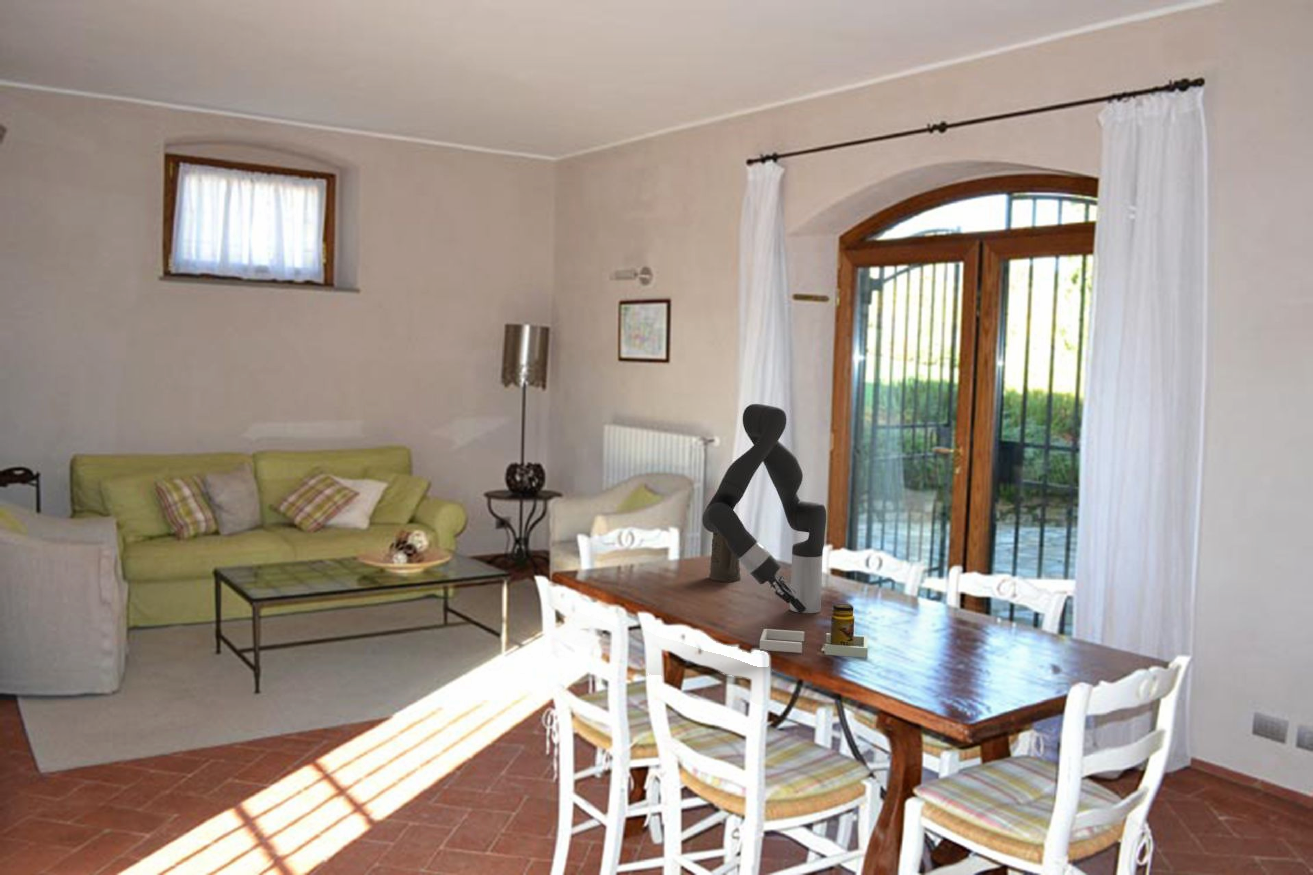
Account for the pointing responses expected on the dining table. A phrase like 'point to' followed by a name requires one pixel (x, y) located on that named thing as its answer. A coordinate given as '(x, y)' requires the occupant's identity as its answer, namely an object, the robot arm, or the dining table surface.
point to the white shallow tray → (848, 647)
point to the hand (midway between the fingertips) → (803, 610)
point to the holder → (782, 645)
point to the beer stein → (723, 561)
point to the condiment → (842, 626)
